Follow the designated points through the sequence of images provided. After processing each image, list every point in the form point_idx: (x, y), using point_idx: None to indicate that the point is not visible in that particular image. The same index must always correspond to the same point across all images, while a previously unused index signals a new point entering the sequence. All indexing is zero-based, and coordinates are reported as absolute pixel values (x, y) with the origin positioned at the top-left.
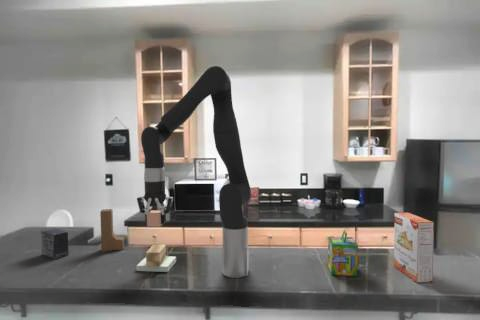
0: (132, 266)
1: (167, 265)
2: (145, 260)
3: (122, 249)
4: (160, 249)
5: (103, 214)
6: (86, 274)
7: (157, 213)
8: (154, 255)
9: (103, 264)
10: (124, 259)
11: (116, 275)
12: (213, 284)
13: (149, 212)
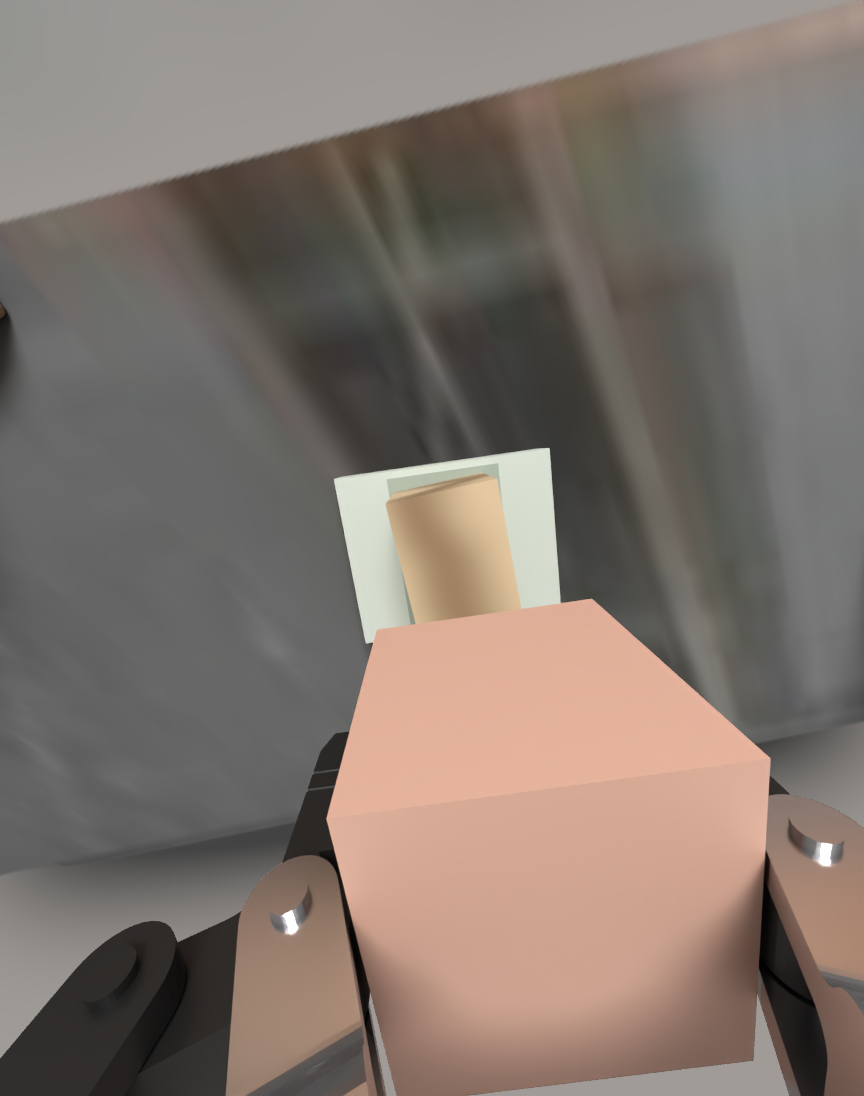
0: (306, 581)
1: (553, 602)
2: (373, 562)
3: (3, 314)
4: (508, 603)
5: None
6: (139, 721)
7: (688, 1057)
8: None
9: (113, 594)
10: (177, 494)
11: (301, 698)
12: (828, 677)
13: (413, 1023)
